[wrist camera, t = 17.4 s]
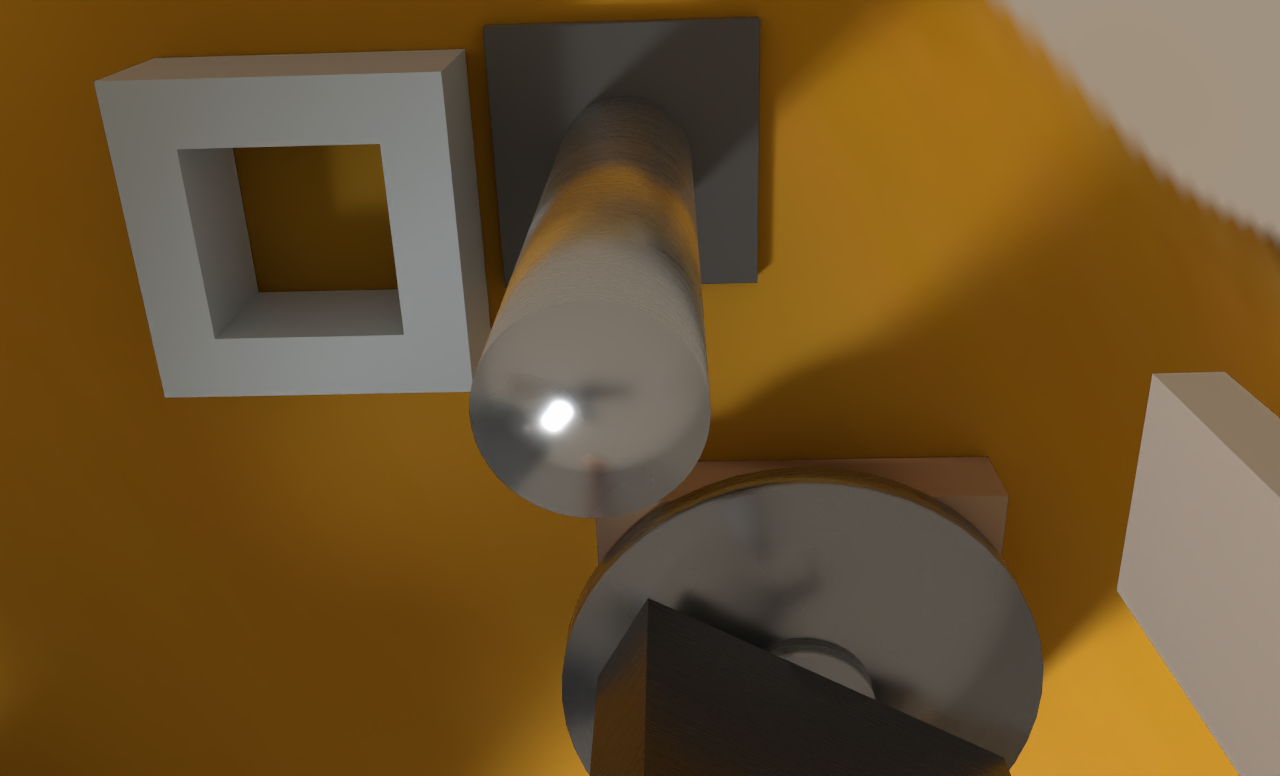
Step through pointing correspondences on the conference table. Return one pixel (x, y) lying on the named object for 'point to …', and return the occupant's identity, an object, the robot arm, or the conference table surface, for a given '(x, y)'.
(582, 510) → the rod
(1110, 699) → the conference table surface
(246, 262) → the eye block
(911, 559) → the lever on round base
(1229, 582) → the robot arm
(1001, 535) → the plinth
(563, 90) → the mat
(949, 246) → the conference table surface
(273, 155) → the conference table surface
